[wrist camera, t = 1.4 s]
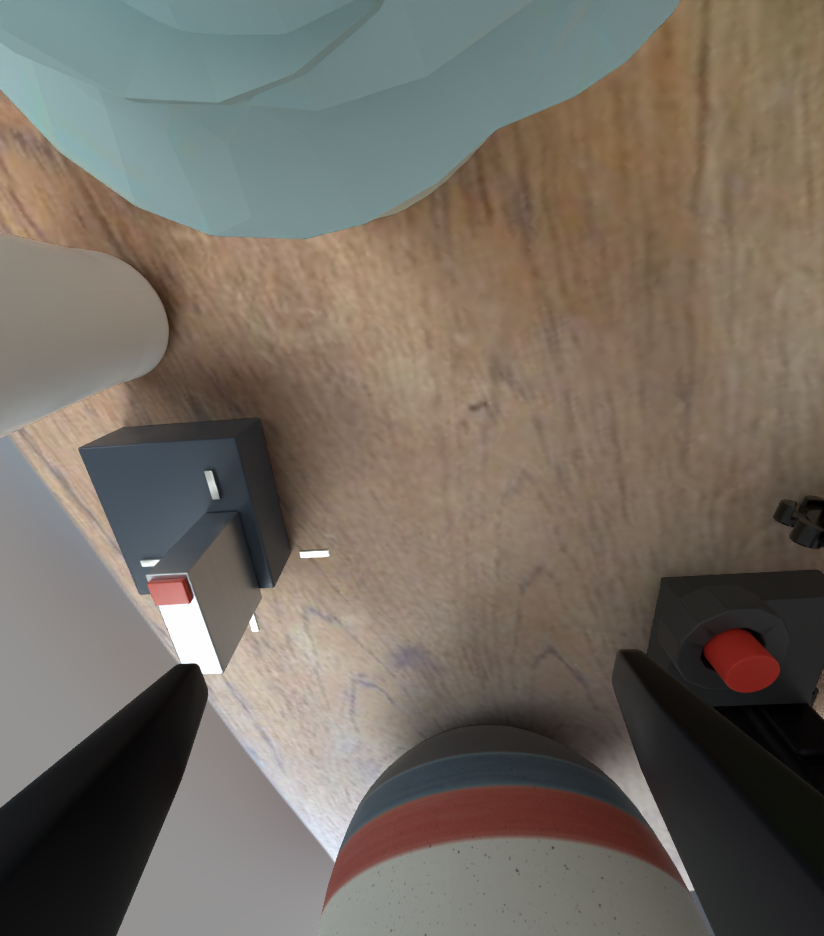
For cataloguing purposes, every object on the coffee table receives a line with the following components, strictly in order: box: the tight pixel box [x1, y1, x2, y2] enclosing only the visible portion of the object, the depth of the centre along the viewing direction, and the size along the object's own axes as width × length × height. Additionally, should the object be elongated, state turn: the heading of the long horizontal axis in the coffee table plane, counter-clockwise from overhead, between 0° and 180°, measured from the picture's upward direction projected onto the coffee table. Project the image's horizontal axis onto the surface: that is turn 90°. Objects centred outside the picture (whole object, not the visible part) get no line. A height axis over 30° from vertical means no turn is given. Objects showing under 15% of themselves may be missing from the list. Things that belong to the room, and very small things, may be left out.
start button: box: [703, 628, 780, 693], centre depth 20 cm, size 2×2×2 cm
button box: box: [647, 570, 824, 707], centre depth 23 cm, size 9×10×4 cm
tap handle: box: [146, 512, 262, 674], centre depth 18 cm, size 5×2×5 cm, turn 4°
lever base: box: [78, 418, 330, 632], centre depth 21 cm, size 11×10×3 cm
